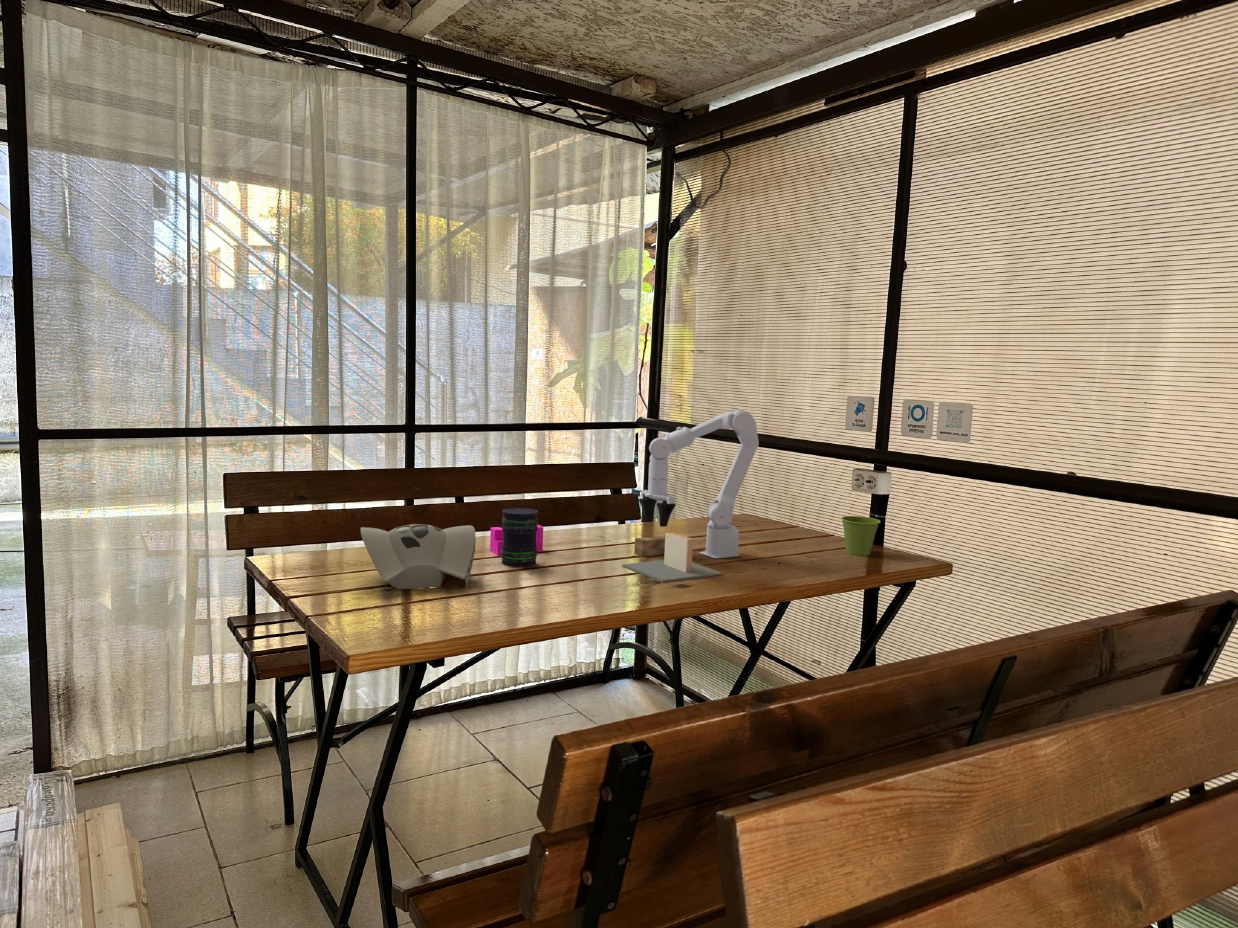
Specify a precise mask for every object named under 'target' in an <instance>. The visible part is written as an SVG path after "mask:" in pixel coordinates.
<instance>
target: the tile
mask: <svg viewBox="0 0 1238 928" xmlns="http://www.w3.org/2000/svg"><path fill="white" fill-rule="evenodd" d="M664 536H665V554H663V555H664V557H663V558H664V559H663V560H664V564H665V565H667V566H670V567H673V568H675V569H678V570H681V571H683V572H691V570H692V562H693V548H694V547H693V546H694V545H693V544H694V539H693V538H691V537H687V536H684V535H681V534H678V533H675V532H665V535H664Z"/></svg>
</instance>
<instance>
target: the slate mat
mask: <svg viewBox="0 0 1238 928" xmlns="http://www.w3.org/2000/svg"><path fill="white" fill-rule="evenodd" d="M622 568H625V569H628V570H630V571H633V572H635V573H637V574H640V575H643V576H644V577H646V578H647V577H648V578H650V579H652V580H655V581H658V582H660V583H669V582H676V581H685V580H692V579H693V580H694V579H698V578H708V577H715V575H717V576H722V575H723V573H722V572H720V571H718V570H715V569H714V568H713V569H712V568H709V567H706V566H704V565H701V564H699V563H695V562H693V561H692V570H691V572H683V571H681V570H678V569H675V568H673V567H670V566H667V565H665V564H664V559H659V560H651V561H641V562H634V563H633V562H631V563H623V564H622Z"/></svg>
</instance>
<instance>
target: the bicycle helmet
mask: <svg viewBox="0 0 1238 928" xmlns="http://www.w3.org/2000/svg"><path fill="white" fill-rule="evenodd" d="M359 531H360V536H361V539H362V541H363V545H364V547H365V549H366V551H367V553H368V555H369V558H370V560H371V561H372V564H373V565H374V567H375V569H376V571H377V572H378V574H379V576H380V577H381V579H382V580H383V581H384V582H385V583H388V584H389V585H390V586H391V587H393V588H394V587H395V588H394V589H396V588H397V589H396V590H399V589H418V590H420V589H419V588H430V587H440V586H450V587H460V586H464V588H466V587H467V585H468V582H469V579H470V577H471V573H472V569H473V568H472V567H473V563H474V559H475V553H476V543H477V541H476V540H477V539H476V537H477V536H476V529H475V527H474V526H473V525H471V524H469V525H459V526H453V527H451V526H450V527H448V528H444V529H442V528H440V527H437V526H434V525H430V524H422V523H421V524H420V523H414V524H406V525H401V526H397V527H394V528H393V529H391V530H389V531H387V530H384V529H380V528H376V527H375V528H374V527H360V530H359ZM440 588H441V587H440Z"/></svg>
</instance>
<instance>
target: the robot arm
mask: <svg viewBox="0 0 1238 928" xmlns="http://www.w3.org/2000/svg"><path fill="white" fill-rule="evenodd" d="M675 429H676V430H674V431H672V432H670V433H667V434H665V433H663V434H662V435H661V438H660V437H657V438H653V440H651V442H650V444H649V446H648V450H649V453H650V456H649V464H648V482H647V483H648V485H647V489H643V490H642V489H641V490H640V497H642V498H638V502H639V504H640V505H641V509H642V512H643V516H644V517H643V518H644V521H645V522H646V523H652V522H653V519H654V513H655V507H657V510H658V518H659V527H662V528H663V527H667V526H668V523H669V520H670V518H671V517H670V516H671V515H672V512H673V510H674V509H675V508H676V505H677V504H676V503H675V497H674V496H672V495H671V494H669V493H668V485H669V484H668V483H669V481H668V479H669V455H670V453H672V454H673V453H676V452H678V451H681V450H683V449H685V448H687V447H690V446H692V445H693V443H694V441H695V439H697V438H700V437H703V436H705V435H708V434H710V433H712V432H715V431H718V430H719V429H720V430H733V432H735V434H736V436H737V438H738V440H739V443H740V446H739V447H738V450H737V452H736V454H735V458H734V459H733V461H732V464H731V466H730V468H729V471H728V473H727V476H726V477H725V481H724V483H723V485H722V486H721V487H722V488H721V489H720V492H719V493H718V495H717V496H716V497H715V500H714V501H713V502H712V503H711V504H710V505H709V506H708V508H707V516H708V517H709V519H710V520H709V522H707V523H706V542H705V551H699V554H700V555H704V556H706V557H710V558H713V559H726V558H734V557H741V554H740V553H739V546H740V544H739V543H740V533H739V530H738V528H737V527H736V526H735V525H732V524H731V523H732V521H733V510H734V508H735V503H736V498H737V497H738V494H739V491H740V489H741V487H742V485H743V481H744V479H745V477H746V475H747V473H748V470H749V468H750V466H751V463H752V461H753V458H754V456H755V455H756V452H757V450H758V447H759V445H760V443H759V442H760V441H759V435H758V430H757V422H756V420H755V418H754V417H753V415H752V413H750V412H748V410H744V409H740V408H737V409H734V410H732V411H728V412H727V411H726V412H725V413H722V414H719V415H717V416H715V417H712V418H711V419H709V420H706V421H703V422H702V423H700V424H697V425H696V426H694V427H692V428H689V427H686V426H683V427H681V426H678V427H676V428H675ZM658 501H660V502H658Z"/></svg>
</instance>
